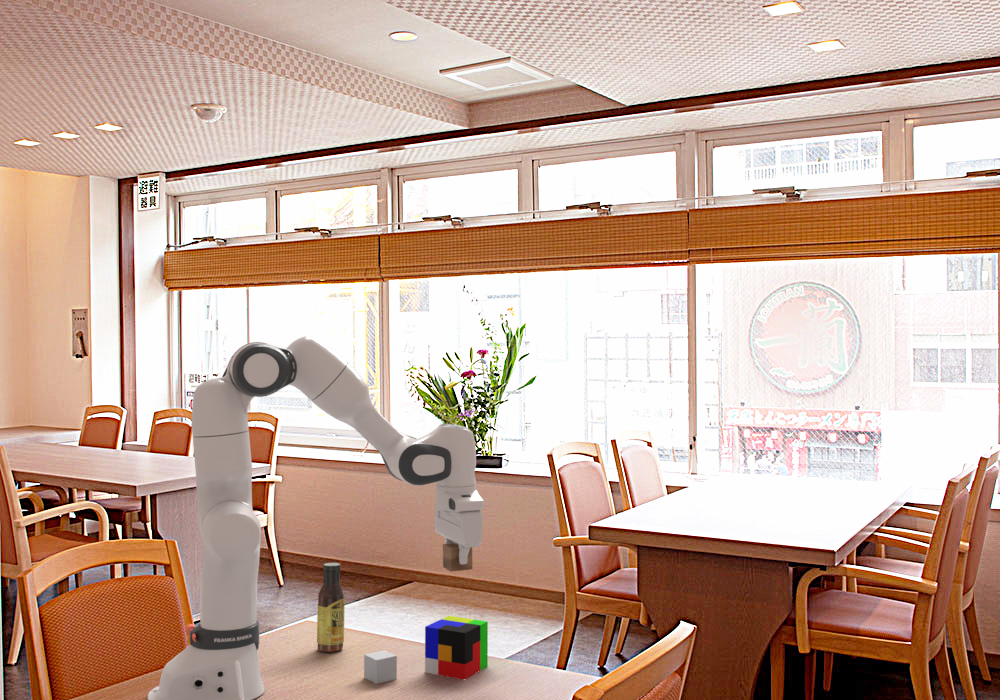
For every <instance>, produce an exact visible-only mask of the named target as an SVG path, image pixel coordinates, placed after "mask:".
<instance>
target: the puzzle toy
mask: <svg viewBox="0 0 1000 700" xmlns="http://www.w3.org/2000/svg"><path fill="white" fill-rule="evenodd" d="M488 625H489V623H488V621H487V620H482V619H473V618H467V617H460V616H459V617H458V616H453V615H447V616H445V617H443V618H441V619H439V620H437V621H435V622H433V623H430V624H428V625H425V627H424V638H425V639H424V640H425V641H424V656H425V657H424V665H425V666H424V673H425V674H430V673H431V675H437V676H441V675H443V676H442V677H447V676H448V677H447V678H452V677H454V678H453V679H458V678H459V679H458V680H463V679H466V680H467V679H469V678H470V676H471V677H472V676H474V675H476V674H477V673H479V672H481V671H483V670H484V669H486V668H487V666H488V661H489V659H488V655H489V654H488V653H489V648H488V646H489V645H488V643H489V641H488V640H489V639H488V636H489V633H488V632H489V631H488V630H489V629H488V627H489V626H488ZM485 667H486V668H485ZM483 668H484V669H483ZM482 669H483V670H482ZM480 670H481V671H480ZM478 671H479V672H478ZM476 672H477V673H476ZM475 673H476V674H475ZM473 674H474V675H473ZM468 677H469V678H468Z"/></svg>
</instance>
